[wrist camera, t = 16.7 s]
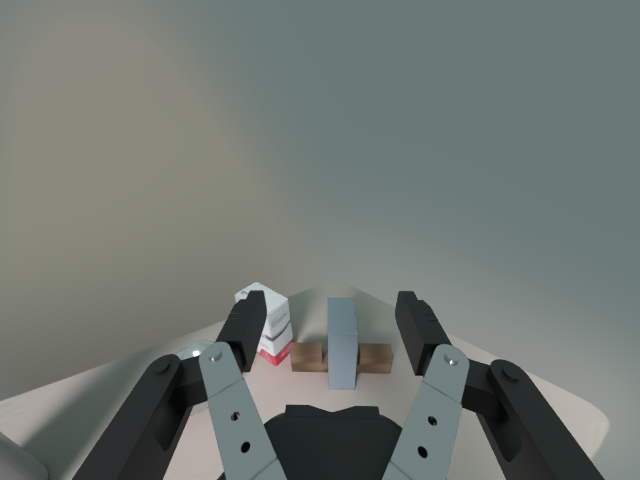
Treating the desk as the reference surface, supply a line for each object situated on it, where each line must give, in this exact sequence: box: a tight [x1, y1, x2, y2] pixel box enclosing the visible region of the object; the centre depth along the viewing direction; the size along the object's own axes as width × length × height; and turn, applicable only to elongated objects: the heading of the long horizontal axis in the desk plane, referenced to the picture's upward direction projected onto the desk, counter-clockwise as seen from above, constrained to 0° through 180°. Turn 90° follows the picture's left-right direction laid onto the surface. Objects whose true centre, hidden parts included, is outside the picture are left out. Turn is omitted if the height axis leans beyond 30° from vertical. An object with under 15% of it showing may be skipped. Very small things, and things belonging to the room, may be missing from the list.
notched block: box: [328, 298, 358, 389], centre depth 35 cm, size 4×7×12 cm, turn 178°
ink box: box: [234, 282, 294, 366], centre depth 40 cm, size 8×5×12 cm, turn 53°
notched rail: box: [290, 343, 393, 373], centre depth 37 cm, size 16×2×4 cm, turn 88°
